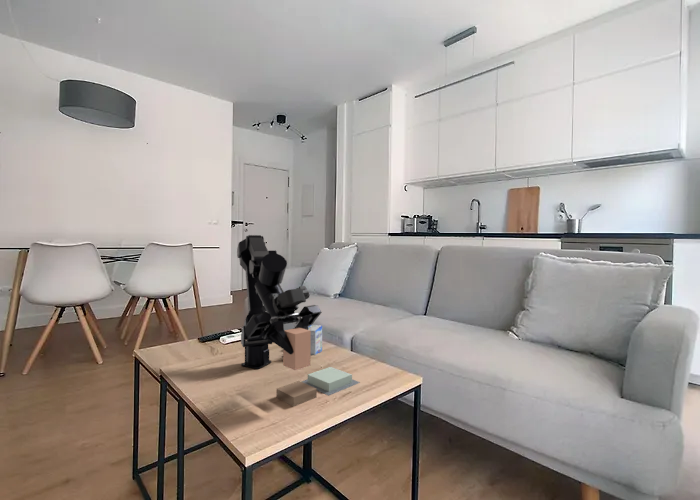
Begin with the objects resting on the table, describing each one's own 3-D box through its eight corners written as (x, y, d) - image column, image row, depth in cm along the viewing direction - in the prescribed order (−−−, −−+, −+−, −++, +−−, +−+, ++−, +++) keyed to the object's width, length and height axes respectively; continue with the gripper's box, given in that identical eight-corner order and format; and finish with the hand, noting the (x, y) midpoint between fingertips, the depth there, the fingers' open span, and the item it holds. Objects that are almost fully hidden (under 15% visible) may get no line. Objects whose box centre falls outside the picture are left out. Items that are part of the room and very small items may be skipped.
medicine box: (315, 358, 113) (315, 330, 112) (302, 357, 114) (302, 330, 113) (322, 350, 120) (322, 325, 120) (309, 349, 121) (309, 324, 121)
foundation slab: (307, 382, 91) (307, 374, 91) (330, 374, 97) (330, 366, 97) (329, 391, 85) (329, 383, 85) (352, 382, 91) (352, 374, 91)
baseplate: (299, 386, 91) (299, 382, 91) (330, 374, 99) (330, 371, 99) (328, 399, 83) (328, 395, 83) (360, 386, 91) (360, 382, 91)
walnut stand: (276, 401, 82) (276, 388, 82) (298, 393, 87) (298, 380, 87) (293, 411, 77) (293, 397, 77) (316, 401, 82) (316, 388, 82)
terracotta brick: (283, 365, 82) (283, 330, 82) (298, 360, 85) (298, 327, 85) (295, 370, 79) (295, 334, 78) (310, 365, 82) (310, 330, 82)
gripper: (251, 278, 77) (281, 338, 70) (317, 273, 91) (347, 323, 83) (233, 309, 83) (259, 368, 76) (297, 300, 96) (324, 349, 89)
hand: (300, 351), depth 81 cm, fingers closed on terracotta brick, 4 cm apart
